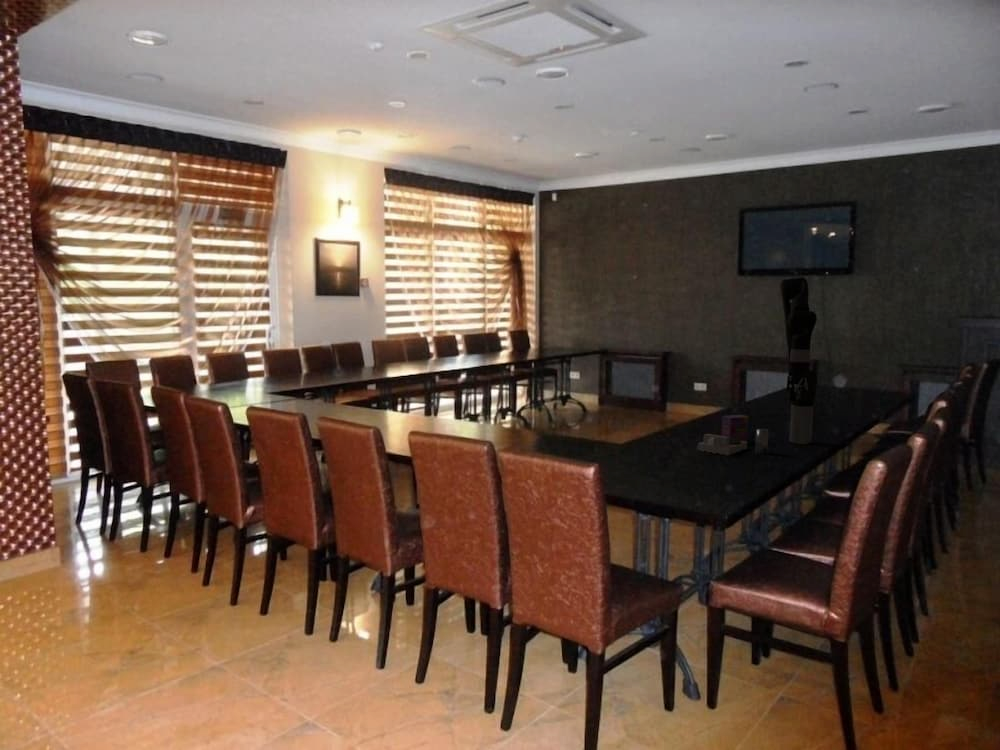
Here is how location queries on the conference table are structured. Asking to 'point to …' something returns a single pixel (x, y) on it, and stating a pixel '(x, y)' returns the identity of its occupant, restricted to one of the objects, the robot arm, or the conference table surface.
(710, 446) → the scale
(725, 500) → the conference table surface
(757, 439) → the spacer
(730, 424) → the box
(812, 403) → the robot arm
